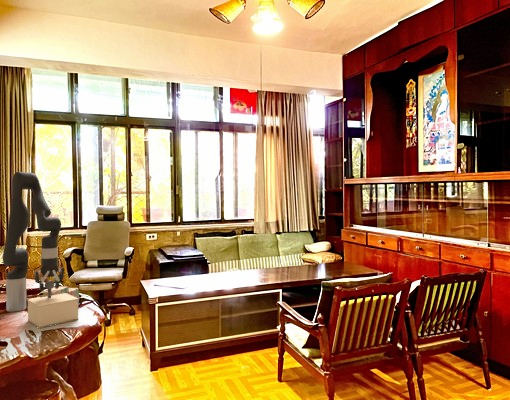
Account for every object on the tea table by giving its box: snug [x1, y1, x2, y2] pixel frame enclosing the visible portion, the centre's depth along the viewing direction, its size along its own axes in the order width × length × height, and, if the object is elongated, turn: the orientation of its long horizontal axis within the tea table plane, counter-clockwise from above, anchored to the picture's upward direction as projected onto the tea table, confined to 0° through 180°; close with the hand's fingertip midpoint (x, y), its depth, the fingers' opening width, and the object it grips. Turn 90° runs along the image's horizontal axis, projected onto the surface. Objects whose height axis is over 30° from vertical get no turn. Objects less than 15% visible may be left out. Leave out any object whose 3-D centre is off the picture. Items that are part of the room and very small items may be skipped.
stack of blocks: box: [42, 285, 80, 305], centre depth 212 cm, size 21×6×12 cm, turn 169°
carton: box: [27, 300, 79, 329], centre depth 193 cm, size 16×18×10 cm
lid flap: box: [26, 280, 80, 307], centre depth 193 cm, size 16×18×9 cm
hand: (49, 289), depth 196 cm, fingers open, 6 cm apart
